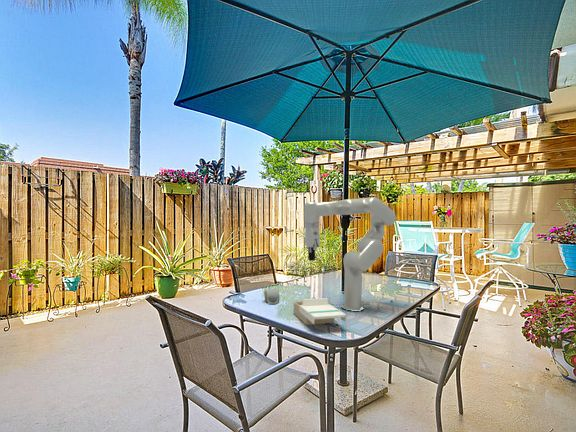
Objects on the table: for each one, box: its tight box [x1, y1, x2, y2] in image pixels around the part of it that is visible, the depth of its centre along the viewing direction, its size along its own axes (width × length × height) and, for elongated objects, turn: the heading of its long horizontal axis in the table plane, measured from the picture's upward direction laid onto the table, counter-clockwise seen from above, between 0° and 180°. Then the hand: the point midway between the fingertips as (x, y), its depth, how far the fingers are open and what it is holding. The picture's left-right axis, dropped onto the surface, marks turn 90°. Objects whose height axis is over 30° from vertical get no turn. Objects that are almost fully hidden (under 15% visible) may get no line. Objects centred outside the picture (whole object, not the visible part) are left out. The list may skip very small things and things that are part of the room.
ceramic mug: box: [263, 288, 280, 306], centre depth 177 cm, size 11×8×8 cm
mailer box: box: [293, 301, 335, 326], centre depth 150 cm, size 14×18×6 cm
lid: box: [299, 297, 347, 324], centre depth 140 cm, size 15×19×6 cm
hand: (311, 260), depth 161 cm, fingers closed
